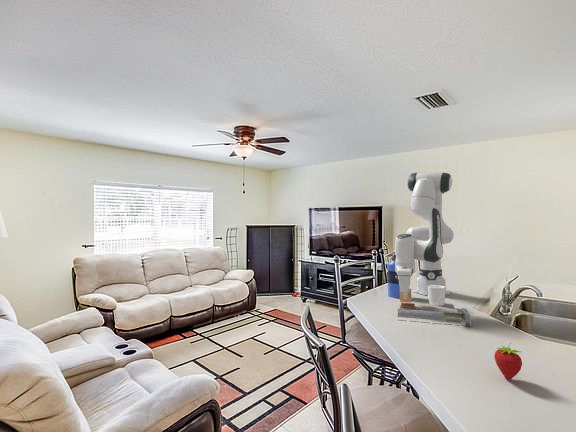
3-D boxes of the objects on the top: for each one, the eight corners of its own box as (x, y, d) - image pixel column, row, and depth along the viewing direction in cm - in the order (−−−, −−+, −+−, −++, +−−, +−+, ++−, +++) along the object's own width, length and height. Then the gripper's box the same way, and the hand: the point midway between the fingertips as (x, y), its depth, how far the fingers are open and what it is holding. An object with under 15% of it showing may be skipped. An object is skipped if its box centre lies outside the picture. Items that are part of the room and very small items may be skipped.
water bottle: (384, 298, 173) (382, 252, 173) (397, 296, 176) (395, 251, 177) (396, 301, 164) (395, 254, 165) (409, 299, 168) (408, 253, 168)
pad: (400, 308, 152) (400, 301, 152) (416, 309, 150) (415, 302, 150) (399, 312, 146) (399, 304, 146) (416, 313, 143) (415, 305, 143)
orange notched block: (400, 301, 148) (399, 290, 148) (400, 299, 152) (400, 288, 152) (411, 302, 146) (411, 290, 146) (411, 300, 150) (411, 288, 150)
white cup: (444, 310, 147) (443, 288, 148) (426, 307, 152) (425, 287, 152) (447, 306, 154) (446, 285, 154) (430, 303, 159) (429, 284, 159)
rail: (398, 313, 144) (398, 303, 144) (468, 319, 133) (467, 308, 133) (397, 320, 134) (397, 309, 134) (472, 326, 124) (471, 315, 124)
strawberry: (515, 374, 86) (513, 337, 86) (528, 388, 79) (526, 348, 79) (491, 372, 88) (489, 336, 88) (501, 385, 80) (499, 346, 81)
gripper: (399, 264, 160) (400, 291, 160) (396, 271, 141) (397, 302, 141) (412, 264, 157) (413, 292, 157) (411, 272, 138) (412, 303, 138)
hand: (405, 297), depth 149 cm, fingers closed on orange notched block, 5 cm apart
